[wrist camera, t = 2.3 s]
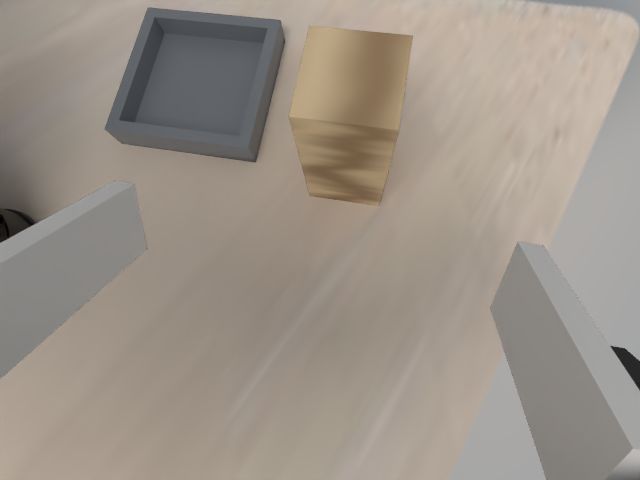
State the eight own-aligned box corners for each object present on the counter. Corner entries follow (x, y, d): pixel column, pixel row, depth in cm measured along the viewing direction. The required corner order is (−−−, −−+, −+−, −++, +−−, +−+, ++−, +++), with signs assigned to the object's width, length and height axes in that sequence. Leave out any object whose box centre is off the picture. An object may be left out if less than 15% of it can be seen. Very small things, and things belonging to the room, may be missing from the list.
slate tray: (121, 143, 34) (104, 128, 32) (160, 28, 37) (147, 7, 35) (255, 162, 33) (248, 148, 30) (285, 41, 36) (280, 20, 33)
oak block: (310, 195, 32) (288, 116, 20) (322, 133, 33) (309, 25, 21) (379, 206, 31) (398, 129, 19) (389, 142, 32) (413, 35, 21)
